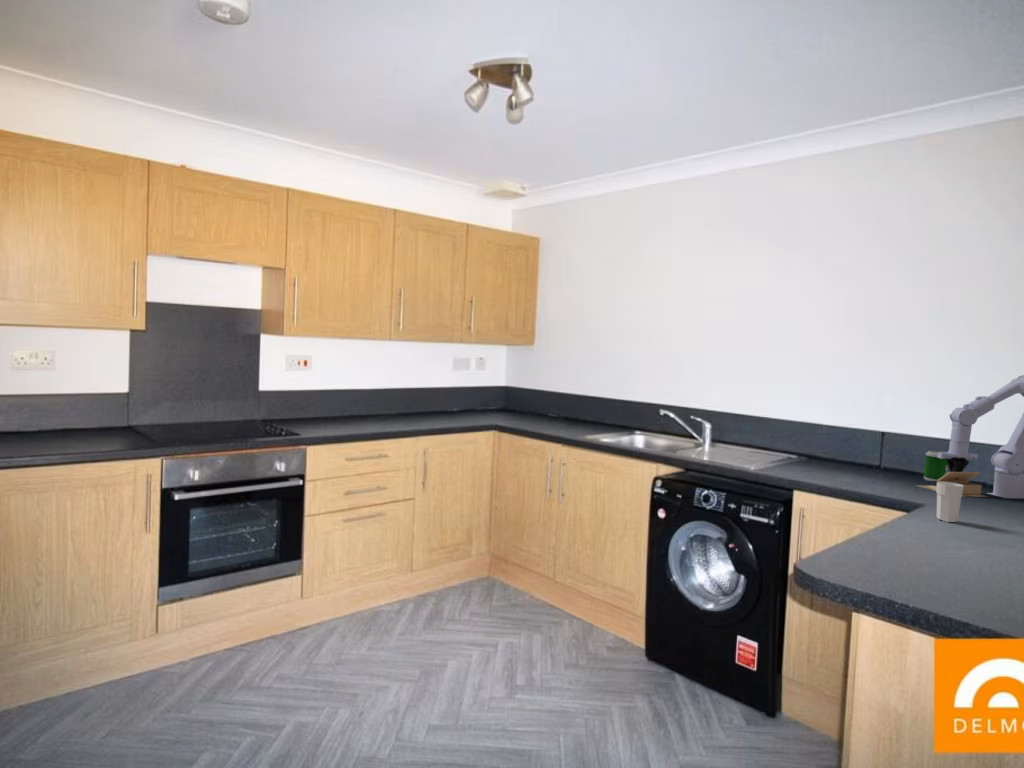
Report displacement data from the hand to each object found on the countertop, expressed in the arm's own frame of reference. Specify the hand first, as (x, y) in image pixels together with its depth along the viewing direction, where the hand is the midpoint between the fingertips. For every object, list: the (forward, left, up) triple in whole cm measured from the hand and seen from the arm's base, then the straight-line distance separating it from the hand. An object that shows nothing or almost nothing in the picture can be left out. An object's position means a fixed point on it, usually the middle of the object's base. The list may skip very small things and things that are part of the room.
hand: (954, 478), depth 235 cm
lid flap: (0, +2, +1) cm, 2 cm away
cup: (+37, +37, -6) cm, 53 cm away
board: (0, -1, -5) cm, 6 cm away
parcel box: (0, +2, -5) cm, 5 cm away
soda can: (-10, -20, -6) cm, 23 cm away
